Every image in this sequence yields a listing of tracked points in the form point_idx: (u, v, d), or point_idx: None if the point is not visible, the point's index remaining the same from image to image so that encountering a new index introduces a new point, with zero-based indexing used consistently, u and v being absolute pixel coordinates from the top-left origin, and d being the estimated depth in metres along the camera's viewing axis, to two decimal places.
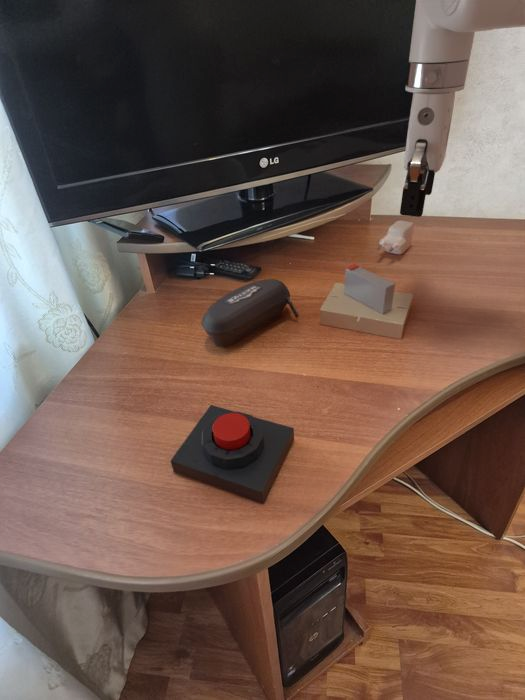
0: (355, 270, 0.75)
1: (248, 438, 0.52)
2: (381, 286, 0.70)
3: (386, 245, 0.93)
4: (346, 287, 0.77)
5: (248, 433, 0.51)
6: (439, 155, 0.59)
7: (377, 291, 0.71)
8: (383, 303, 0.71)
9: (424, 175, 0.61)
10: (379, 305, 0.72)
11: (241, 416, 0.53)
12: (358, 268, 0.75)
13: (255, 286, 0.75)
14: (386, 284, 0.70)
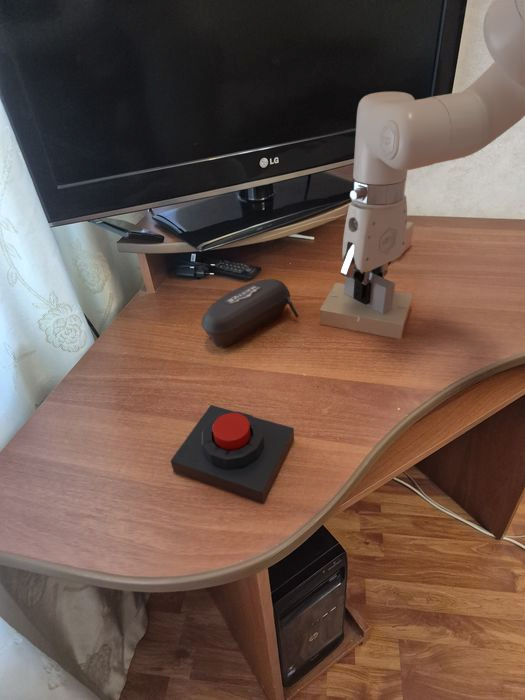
0: None
1: (248, 438, 0.52)
2: (381, 286, 0.70)
3: None
4: (346, 287, 0.77)
5: (248, 433, 0.51)
6: (363, 259, 0.66)
7: (377, 291, 0.71)
8: (383, 303, 0.71)
9: (363, 275, 0.70)
10: (379, 305, 0.72)
11: (241, 416, 0.53)
12: None
13: (255, 286, 0.75)
14: (386, 284, 0.70)
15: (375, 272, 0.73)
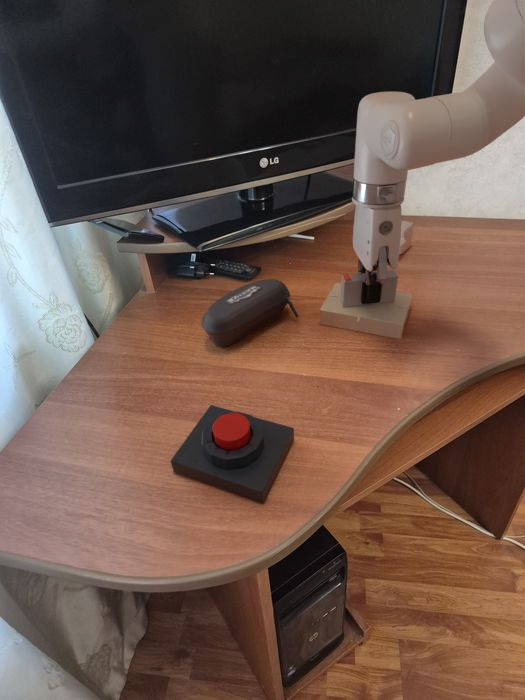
0: (352, 278, 0.72)
1: (248, 438, 0.52)
2: (393, 277, 0.72)
3: None
4: (346, 299, 0.74)
5: (248, 433, 0.51)
6: (398, 256, 0.66)
7: (387, 284, 0.73)
8: (394, 292, 0.74)
9: None
10: (390, 295, 0.74)
11: (241, 416, 0.53)
12: (350, 276, 0.73)
13: (255, 286, 0.75)
14: (391, 273, 0.73)
15: None
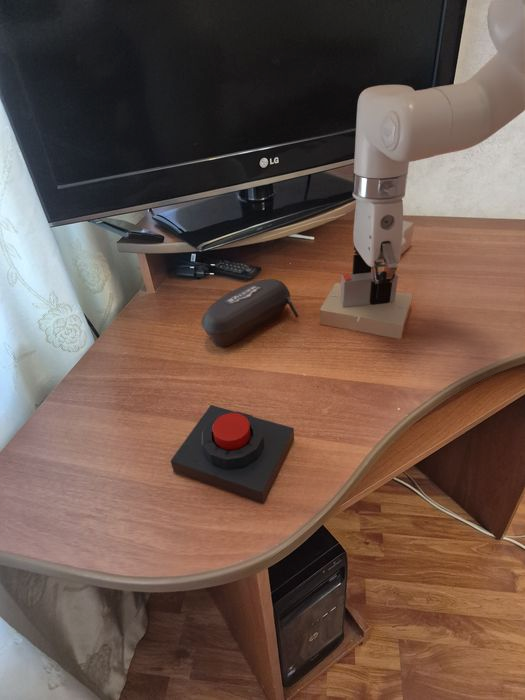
0: (352, 278, 0.72)
1: (248, 438, 0.52)
2: None
3: None
4: (346, 299, 0.74)
5: (248, 433, 0.51)
6: (400, 251, 0.65)
7: None
8: (394, 292, 0.74)
9: None
10: None
11: (241, 416, 0.53)
12: (350, 276, 0.73)
13: (255, 286, 0.75)
14: None
15: None
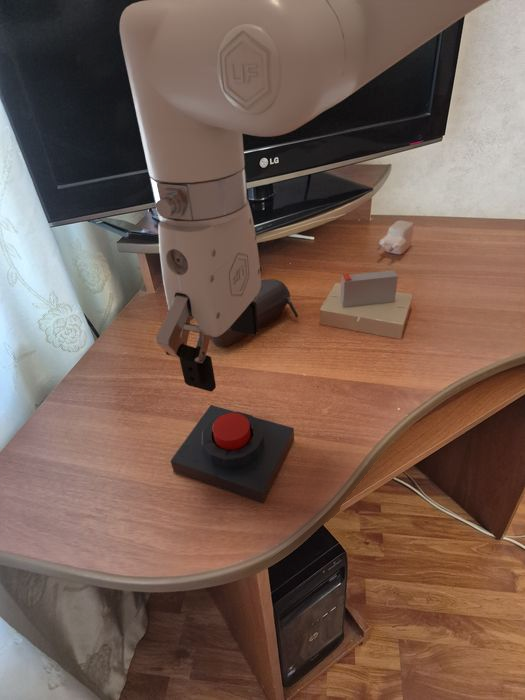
0: (352, 278, 0.72)
1: (248, 438, 0.52)
2: (393, 277, 0.72)
3: (386, 245, 0.93)
4: (346, 299, 0.74)
5: (248, 433, 0.51)
6: (213, 317, 0.37)
7: (387, 284, 0.73)
8: (394, 292, 0.74)
9: (199, 341, 0.38)
10: (390, 295, 0.74)
11: (241, 416, 0.53)
12: (350, 276, 0.73)
13: None
14: (391, 273, 0.73)
15: None
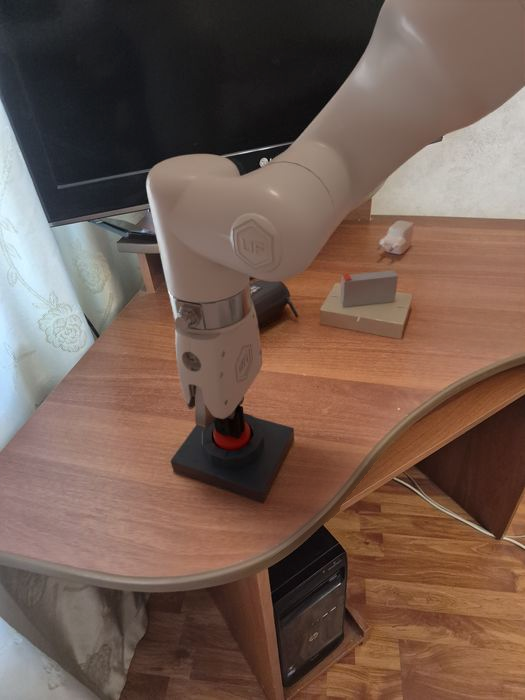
0: (352, 278, 0.72)
1: None
2: (393, 277, 0.72)
3: (386, 245, 0.93)
4: (346, 299, 0.74)
5: (249, 438, 0.52)
6: (222, 404, 0.42)
7: (387, 284, 0.73)
8: (394, 292, 0.74)
9: None
10: (390, 295, 0.74)
11: None
12: (350, 276, 0.73)
13: (255, 286, 0.75)
14: (391, 273, 0.73)
15: None
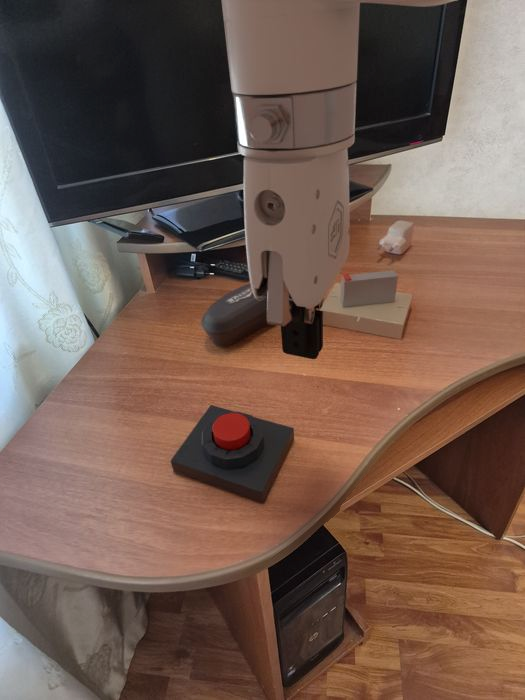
0: (352, 278, 0.72)
1: (248, 438, 0.52)
2: (393, 277, 0.72)
3: (386, 245, 0.93)
4: (346, 299, 0.74)
5: (248, 433, 0.51)
6: (310, 281, 0.28)
7: (387, 284, 0.73)
8: (394, 292, 0.74)
9: (305, 309, 0.33)
10: (390, 295, 0.74)
11: (241, 416, 0.53)
12: (350, 276, 0.73)
13: None
14: (391, 273, 0.73)
15: None
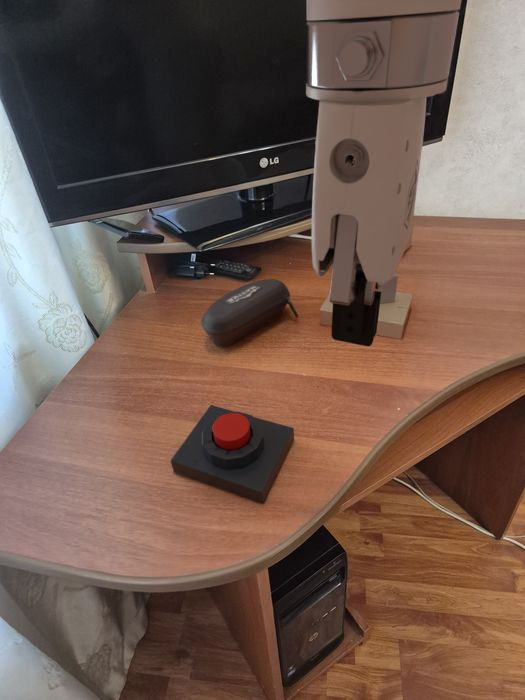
0: None
1: (248, 438, 0.52)
2: (393, 277, 0.72)
3: None
4: None
5: (248, 433, 0.51)
6: (388, 252, 0.24)
7: (387, 284, 0.73)
8: (394, 292, 0.74)
9: (367, 287, 0.29)
10: (390, 295, 0.74)
11: (241, 416, 0.53)
12: None
13: (255, 286, 0.75)
14: None
15: None
